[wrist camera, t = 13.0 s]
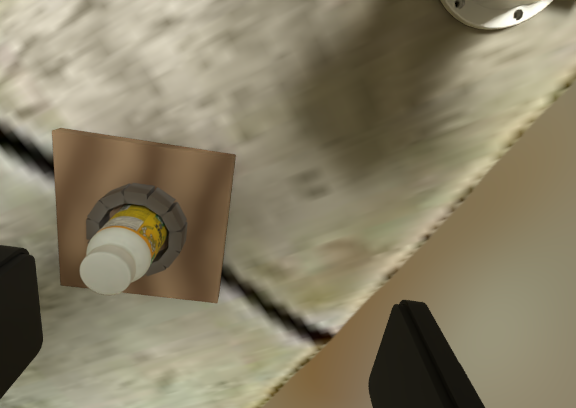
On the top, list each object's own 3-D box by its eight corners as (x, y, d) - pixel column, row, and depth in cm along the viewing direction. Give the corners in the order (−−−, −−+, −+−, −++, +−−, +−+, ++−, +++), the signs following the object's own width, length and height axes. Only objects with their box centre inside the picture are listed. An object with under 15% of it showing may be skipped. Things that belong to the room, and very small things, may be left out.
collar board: (235, 154, 38) (231, 164, 34) (219, 295, 44) (213, 317, 40) (60, 128, 36) (36, 135, 32) (67, 277, 42) (47, 298, 38)
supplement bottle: (118, 195, 37) (69, 238, 28) (172, 205, 38) (142, 249, 29) (116, 242, 39) (69, 297, 30) (167, 251, 40) (137, 307, 31)
